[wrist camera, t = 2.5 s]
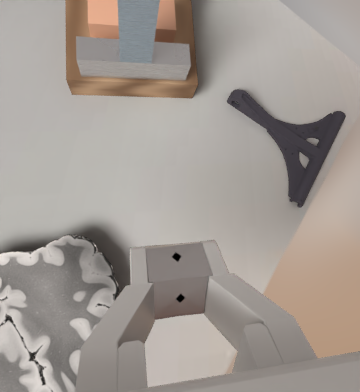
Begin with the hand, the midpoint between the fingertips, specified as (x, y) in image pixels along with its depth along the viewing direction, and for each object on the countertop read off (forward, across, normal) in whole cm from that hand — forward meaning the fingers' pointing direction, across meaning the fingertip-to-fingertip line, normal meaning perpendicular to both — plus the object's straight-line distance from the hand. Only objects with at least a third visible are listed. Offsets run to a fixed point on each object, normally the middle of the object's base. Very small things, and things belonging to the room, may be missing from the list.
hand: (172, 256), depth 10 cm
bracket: (+26, -17, +5) cm, 31 cm away
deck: (+31, 0, -4) cm, 31 cm away
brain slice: (+11, +12, +19) cm, 25 cm away
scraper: (+26, 0, -3) cm, 26 cm away
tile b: (+30, -2, -7) cm, 30 cm away
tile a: (+29, +3, -7) cm, 30 cm away
